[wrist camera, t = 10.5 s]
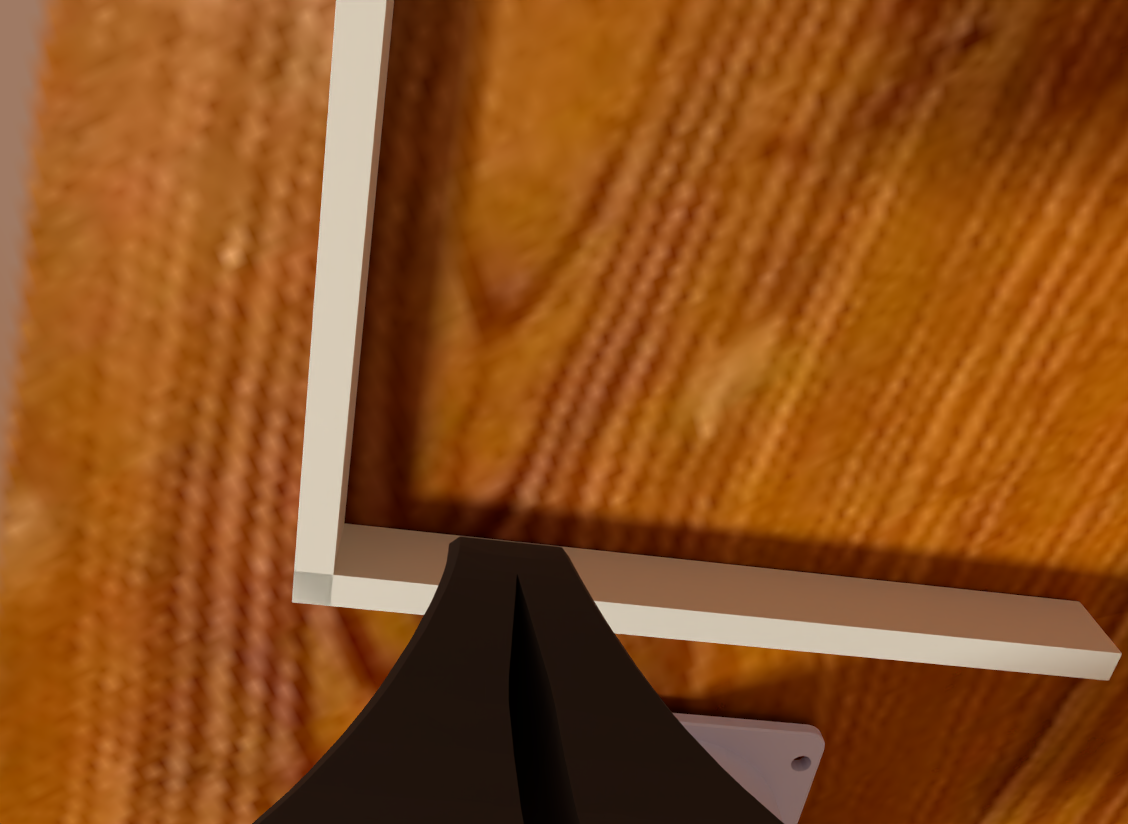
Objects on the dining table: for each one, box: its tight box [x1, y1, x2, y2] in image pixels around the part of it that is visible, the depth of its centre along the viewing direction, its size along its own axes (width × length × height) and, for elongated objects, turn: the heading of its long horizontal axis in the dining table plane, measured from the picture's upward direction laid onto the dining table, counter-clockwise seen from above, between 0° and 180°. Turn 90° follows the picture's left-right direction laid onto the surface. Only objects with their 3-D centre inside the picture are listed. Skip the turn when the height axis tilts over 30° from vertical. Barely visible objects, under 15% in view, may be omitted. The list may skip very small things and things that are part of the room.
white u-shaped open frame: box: [292, 0, 1122, 681], centre depth 21 cm, size 17×19×2 cm
